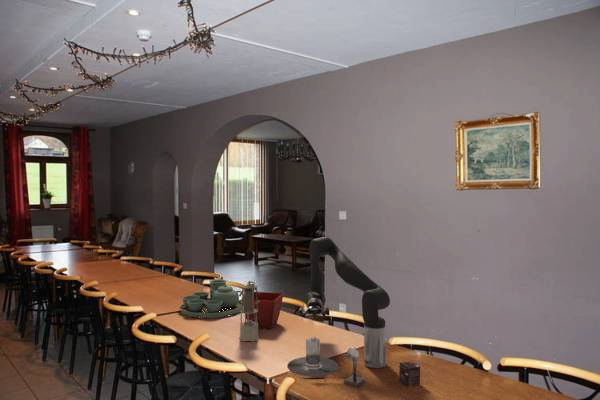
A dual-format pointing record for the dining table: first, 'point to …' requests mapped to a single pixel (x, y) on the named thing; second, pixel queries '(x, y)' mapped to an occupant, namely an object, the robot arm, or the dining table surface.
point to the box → (409, 373)
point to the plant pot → (266, 309)
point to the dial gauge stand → (353, 380)
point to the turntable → (325, 368)
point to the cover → (313, 352)
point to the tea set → (212, 301)
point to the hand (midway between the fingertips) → (314, 315)
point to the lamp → (248, 327)
